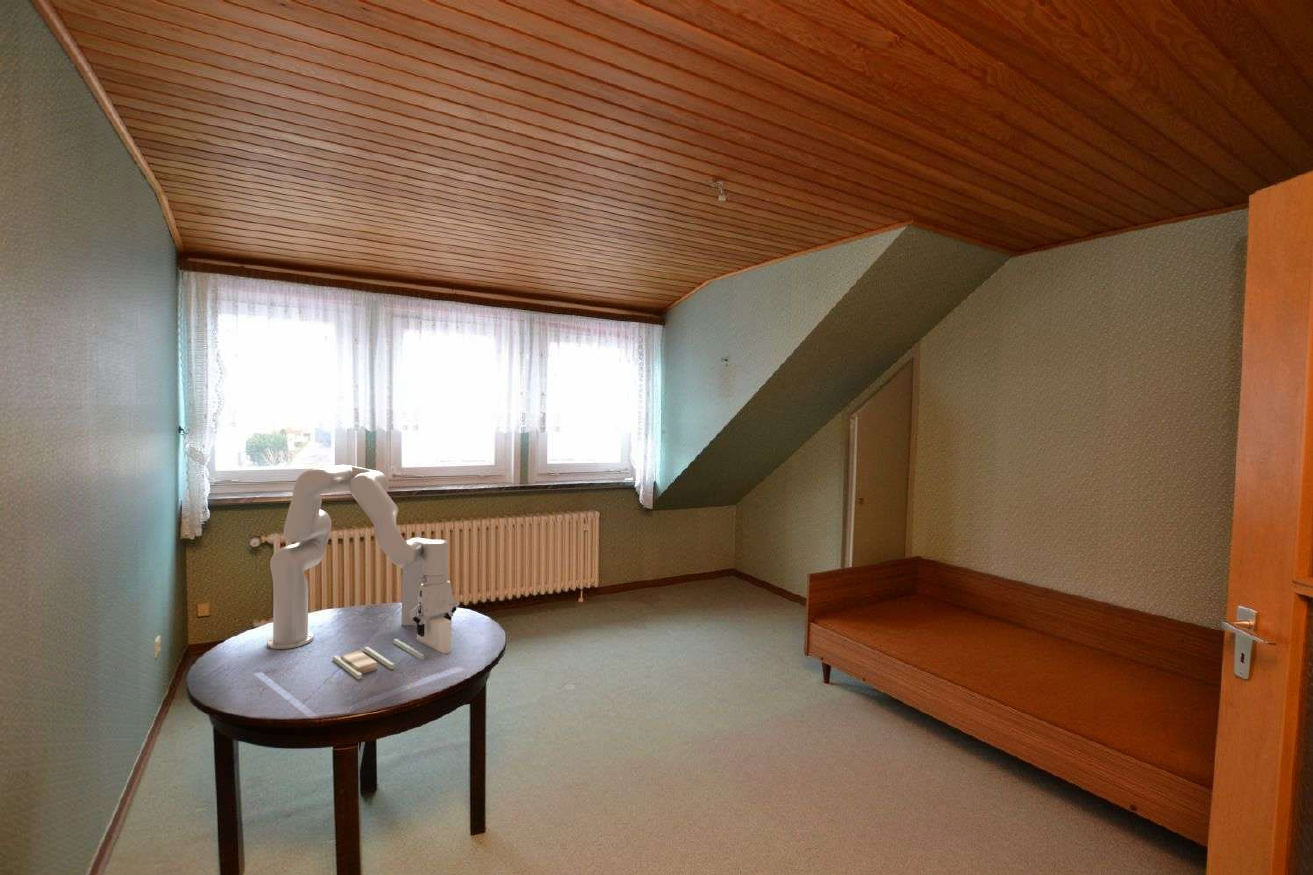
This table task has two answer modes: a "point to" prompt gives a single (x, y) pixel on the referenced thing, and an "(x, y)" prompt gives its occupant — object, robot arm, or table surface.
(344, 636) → the table surface
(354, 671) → the rack
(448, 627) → the cream rectangular block
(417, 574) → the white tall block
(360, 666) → the offcut upper
